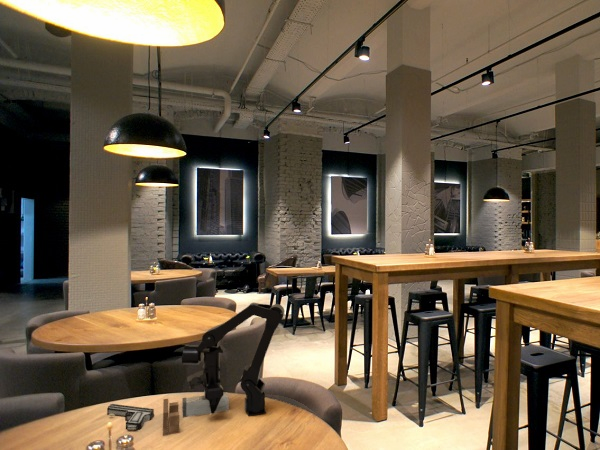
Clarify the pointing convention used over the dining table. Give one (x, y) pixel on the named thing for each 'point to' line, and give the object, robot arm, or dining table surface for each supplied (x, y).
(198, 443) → the dining table surface
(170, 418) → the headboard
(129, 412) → the handgun
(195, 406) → the rail
